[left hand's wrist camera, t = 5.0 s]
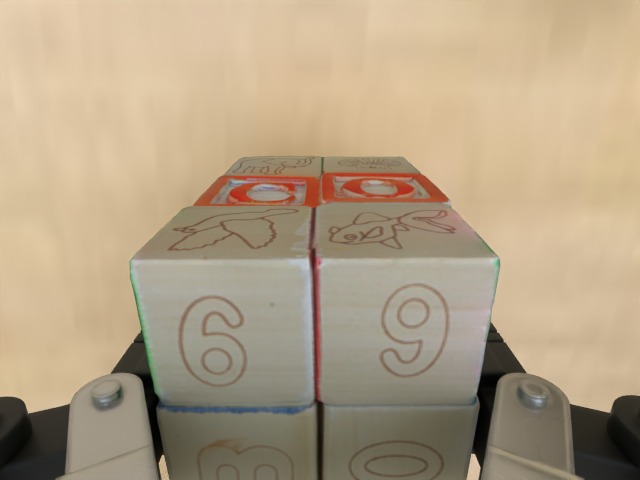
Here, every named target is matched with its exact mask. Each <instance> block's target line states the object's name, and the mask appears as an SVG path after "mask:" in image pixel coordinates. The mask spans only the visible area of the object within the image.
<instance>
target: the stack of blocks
mask: <svg viewBox="0 0 640 480" xmlns="http://www.w3.org/2000/svg"><path fill="white" fill-rule="evenodd" d="M499 269H500V260H499V257H498V256H497V255H496V254H495V253H494V252H493V251H492V250H491V248H490V247H489V246H488V245H487V244H486V243H485V242H484V240H483V239H482V238H481V237H480V236H479V235H478V234H477V233H476V232H475V231H474V230H473V229H472V228H471V227H470V226H469V225H468V224H467V223H466V222H465V221H464V220H463V219H462V217H461V216H460V215H459V214H458V213H457V212H456V211H455V210H453V209H452V208H451V206H450V200H449V199H448V198H447V197H446V196H445V195H444V194H443V193H442V192H441V191H440V190H439V189H438V188H437V187H436V186H435V185H434V184H433V183H432V182H431V181H430V180H429V179H428V178H427V177H426V176H424V175H422V174H421V173H420V172H419V171H418V170H417V169H416V168H415V167H413V165H412V164H410V163H409V162H408V161H407V160H406V159H405V158H403V157H315V156H261V157H245V158H241V159H239V160H238V161H237V162H236V163H235V164H234V165H233V166H232V167H231V168H230V169H229V170H228V172H226V174H225V175H224V176H221V177H219V178H218V179H217V180H216V182H214V183H213V184H212V185H211V187H210V188H209V189H208V190H207V191H206V192H205V193H204V194H203V195H201V197H200V198H199V199H198V200H197V201H196V203H195V204H194V205H193V206H192V207H187V208H184V209H182V210H181V211H180V212H179V213H178V214H177V215H176V216H175V217H174V218H173V219H172V220H171V221H170V222H169V223H168V224H166V225H165V226H164V227H163V228H162V229H161V230H160V231H159V232H158V233H157V234H156V235H155V236H154V237H153V238H152V239H151V240H150V241H149V242H148V243H147V244H145V245H144V246H143V247H142V248H141V249H140V250H139V251H138V252H137V253H136V254H135V255H134V257H133V258H132V259H131V261H130V279H131V283H132V287H133V291H134V295H135V300H136V305H137V310H138V315H139V320H140V324H141V329H142V333H143V338H144V342H145V348H146V354H147V359H148V364H149V369H150V373H151V377H152V380H153V384H154V391H155V393H156V395H157V396H158V398H159V402H158V405H157V408H156V412H157V422H158V426H159V430H160V434H161V440H162V445H163V451H164V456H165V461H166V465H167V470H168V474H169V479H170V480H466V479H467V474H468V468H469V463H470V458H471V452H472V447H473V441H474V436H475V430H476V425H477V419H478V413H479V408H480V403H479V399H478V397H477V395H476V394H477V390H478V385H479V381H480V376H481V370H482V365H483V359H484V353H485V346H486V341H487V336H488V331H489V327H490V323H491V312H492V306H493V303H494V298H495V292H496V287H497V281H498V276H499Z"/></svg>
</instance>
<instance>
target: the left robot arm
mask: <svg viewBox="0 0 640 480" xmlns="http://www.w3.org/2000/svg"><path fill="white" fill-rule="evenodd" d="M476 395H477V397H478V399H479V403H480V408H479V413H478V419H477V425H476V430H475V436H474V441H473V447H472V452H471V454H475V455H476V458H477V460H478V462H479V465H480V467H481V468H480V474H479V479H478V480H640V396H634V395H627V396H622V397H619V398H617V399H616V400H615V401H614V403H613V406H612V409H611V412H610V413H607V412H603V411H598V410H594V409H589V408H585V407H580V406H576V405H572V404H570V403H569V400H568V398H567V397H566V395H565V394H564V393H563V392H562V391H561V390H560V389H559V388H558V387H557V386H555V385H554V384H552V383H551V382H549V381H547V380H545V379H543V378H541V377H538V376H535V375H531V374H527V373H526V371H525V370H524V369H523V367H522V366H521V364H520V363H519V361H518V360H517V359H516V357H515V356H514V354H513V353H512V351H511V350H510V349H509V347H508V346H507V344H506V343H504V341H503V339H502V337H501V336H500V334H499V333H497V330H496V329H495V327H494V326H493V324H492V323H490V327H489V331H488V336H487V341H486V346H485V353H484V359H483V365H482V370H481V376H480V381H479V385H478V390H477V394H476ZM158 402H159V398H158V396H157V395H156V393H155V391H154V384H153V380H152V377H151V373H150V369H149V364H148V359H147V354H146V348H145V342H144V338H143V333H142V330H141V333H139V334H138V335H137V337H136V338H135V340H134V343H132V344H131V345H130V347H129V348H128V350H127V351H126V352H125V354H124V355H123V357H122V358H121V359H120V361H119V362H118V364H117V365H116V367H115V368H114V369H113V371H112V372H111V374H109V375H105V376H102V377H99V378H97V379H95V380H93V381H91V382H89V383H88V384H86V385H85V386H83V387H82V388H81V389H80V390H79V391H78V392H77V393H76V394H75V395H74V397H73V398H72V400H71V403H70V404H68V405H64V406H61V407H56V408H52V409H47V410H43V411H38V412H34V413H30V414H28V411H27V409H26V406H25V403H24V402H23V401H22V400H21V399H19V398H16V397H0V480H162V479H161V473H160V468H159V461H160V459H161V456H162V455H164V451H163V445H162V440H161V434H160V430H159V426H158V422H157V412H156V408H157V405H158Z"/></svg>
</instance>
